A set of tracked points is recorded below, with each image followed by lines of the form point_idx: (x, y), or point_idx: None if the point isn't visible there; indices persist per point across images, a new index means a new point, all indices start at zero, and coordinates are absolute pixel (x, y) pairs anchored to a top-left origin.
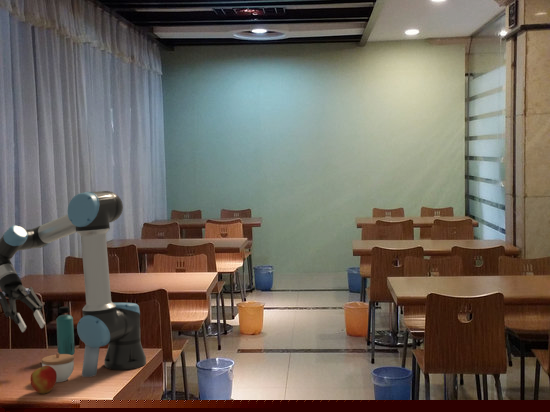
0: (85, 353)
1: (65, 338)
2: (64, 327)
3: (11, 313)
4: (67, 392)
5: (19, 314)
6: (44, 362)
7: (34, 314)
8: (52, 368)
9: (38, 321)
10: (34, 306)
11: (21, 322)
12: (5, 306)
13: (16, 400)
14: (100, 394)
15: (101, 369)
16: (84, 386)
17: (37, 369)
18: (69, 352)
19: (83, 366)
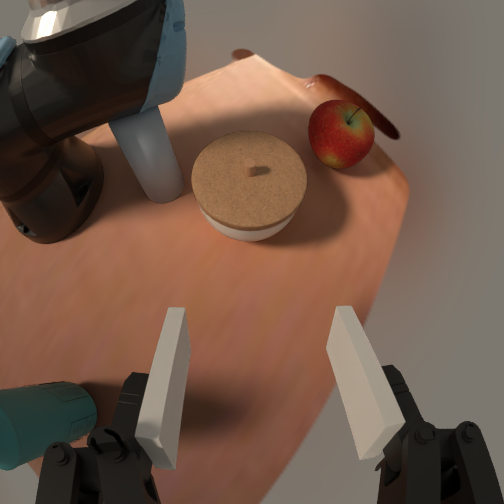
0: (165, 137)
1: (51, 397)
2: (24, 404)
3: (442, 435)
4: (293, 119)
5: (383, 409)
6: (306, 175)
7: (174, 453)
8: (326, 103)
9: (182, 383)
10: (143, 492)
11: (367, 347)
12: (495, 488)
13: (394, 162)
14: (255, 74)
15: (110, 202)
16: (241, 121)
17: (359, 129)
18: (72, 384)
19: (176, 169)
